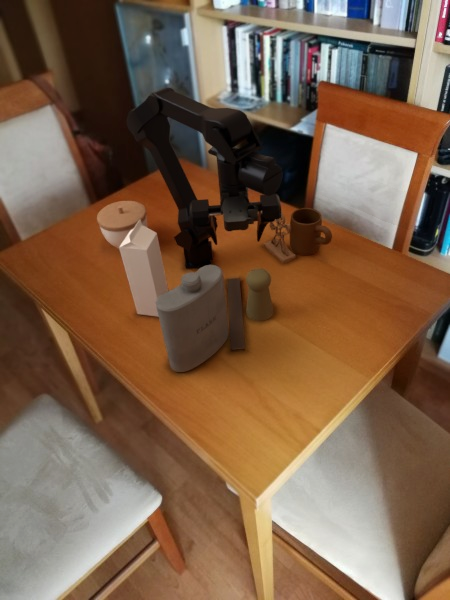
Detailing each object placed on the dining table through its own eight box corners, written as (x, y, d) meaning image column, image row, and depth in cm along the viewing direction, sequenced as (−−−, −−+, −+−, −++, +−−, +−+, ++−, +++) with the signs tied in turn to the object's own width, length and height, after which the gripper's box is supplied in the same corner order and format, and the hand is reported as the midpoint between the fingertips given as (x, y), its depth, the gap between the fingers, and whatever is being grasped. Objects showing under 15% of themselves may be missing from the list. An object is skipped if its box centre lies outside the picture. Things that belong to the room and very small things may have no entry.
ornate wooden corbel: (263, 245, 123) (262, 205, 114) (276, 240, 124) (276, 200, 116) (283, 263, 117) (284, 222, 109) (296, 258, 118) (298, 217, 110)
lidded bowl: (160, 243, 126) (153, 208, 119) (117, 262, 122) (106, 227, 114) (139, 223, 134) (130, 188, 127) (97, 240, 130) (86, 205, 122)
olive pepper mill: (276, 304, 107) (276, 266, 99) (269, 323, 102) (268, 285, 95) (250, 299, 108) (248, 262, 101) (242, 318, 104) (239, 280, 97)
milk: (137, 314, 107) (114, 234, 92) (146, 296, 112) (126, 217, 97) (162, 317, 106) (143, 237, 91) (171, 299, 110) (154, 219, 95)
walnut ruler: (230, 351, 97) (230, 349, 97) (227, 281, 113) (226, 278, 113) (245, 350, 97) (245, 348, 97) (239, 280, 113) (239, 277, 113)
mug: (339, 255, 118) (343, 223, 111) (317, 268, 114) (320, 236, 108) (304, 234, 125) (305, 203, 118) (283, 246, 122) (283, 215, 115)
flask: (184, 379, 93) (168, 306, 79) (165, 364, 96) (146, 291, 83) (236, 336, 100) (230, 262, 87) (217, 323, 104) (208, 250, 90)
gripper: (184, 204, 88) (194, 268, 99) (285, 196, 88) (284, 262, 98) (186, 174, 96) (195, 237, 107) (278, 167, 96) (278, 231, 106)
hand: (237, 242), depth 104 cm, fingers open, 9 cm apart
